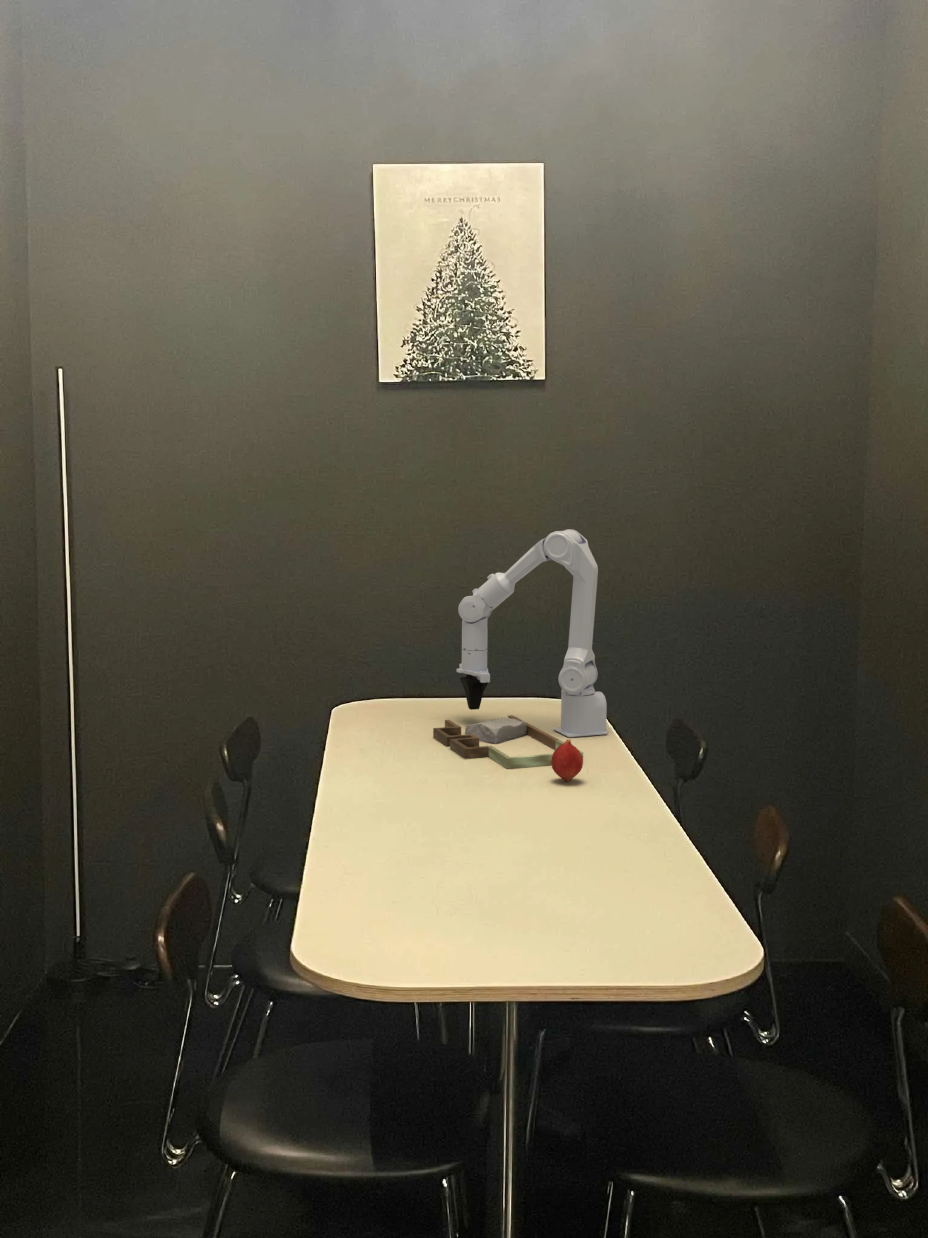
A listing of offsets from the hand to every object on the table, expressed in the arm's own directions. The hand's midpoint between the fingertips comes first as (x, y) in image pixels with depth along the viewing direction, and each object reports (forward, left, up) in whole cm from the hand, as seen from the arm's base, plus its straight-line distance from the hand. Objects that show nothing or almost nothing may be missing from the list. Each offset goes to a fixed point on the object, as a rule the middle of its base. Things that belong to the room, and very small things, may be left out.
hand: (473, 709), depth 270 cm
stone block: (0, +13, -4) cm, 14 cm away
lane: (+2, +22, -3) cm, 22 cm away
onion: (+1, +52, -4) cm, 52 cm away
